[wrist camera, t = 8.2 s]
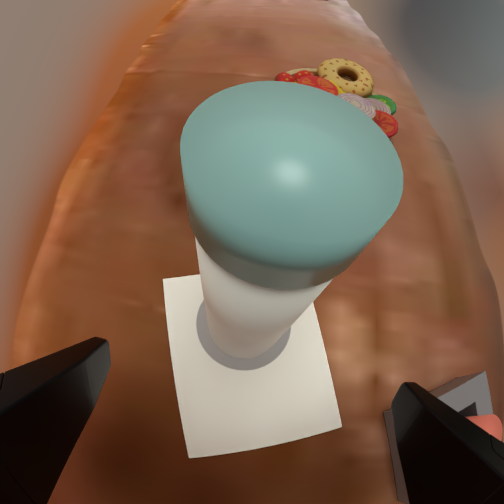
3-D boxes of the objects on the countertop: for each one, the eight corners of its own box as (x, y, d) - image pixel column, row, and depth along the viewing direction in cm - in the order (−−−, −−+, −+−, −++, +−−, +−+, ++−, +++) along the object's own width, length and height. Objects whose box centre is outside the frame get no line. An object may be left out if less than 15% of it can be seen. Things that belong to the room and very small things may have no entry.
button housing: (471, 457, 15) (497, 458, 12) (398, 500, 13) (422, 510, 11) (458, 377, 18) (485, 370, 15) (383, 411, 16) (408, 411, 14)
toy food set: (349, 75, 34) (356, 55, 31) (413, 146, 28) (426, 125, 26) (251, 80, 30) (254, 56, 27) (307, 163, 25) (317, 136, 22)
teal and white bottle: (288, 353, 17) (437, 230, 5) (212, 366, 17) (189, 262, 4) (272, 284, 19) (353, 85, 7) (201, 293, 19) (177, 85, 6)
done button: (463, 448, 14) (504, 448, 10) (431, 468, 13) (472, 474, 10) (458, 410, 15) (499, 405, 12) (425, 428, 15) (467, 428, 11)
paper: (340, 426, 16) (342, 427, 16) (189, 457, 14) (188, 458, 14) (301, 261, 21) (302, 260, 20) (163, 280, 19) (162, 278, 19)
